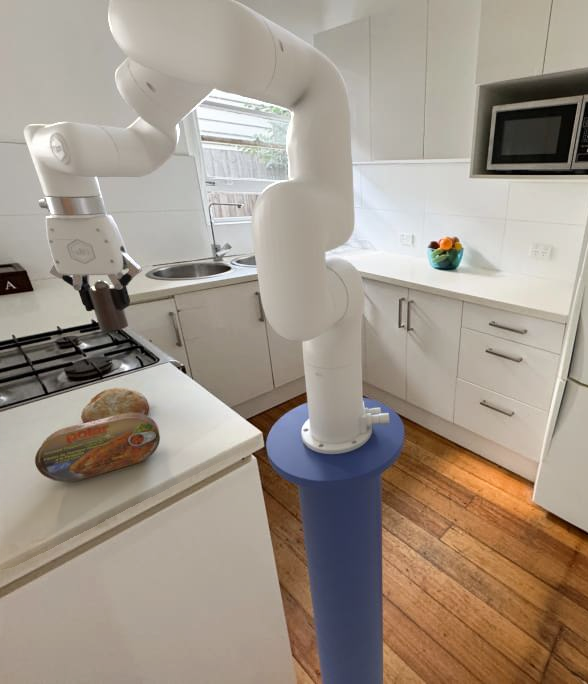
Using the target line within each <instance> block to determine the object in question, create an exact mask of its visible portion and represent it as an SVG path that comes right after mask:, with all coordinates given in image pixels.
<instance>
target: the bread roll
mask: <svg viewBox="0 0 588 684" xmlns="http://www.w3.org/2000/svg"><path fill="white" fill-rule="evenodd" d="M124 413H140V414H143V415H146V416H148V415H149V413H150V404H149V401H148V399H147V398H146V396H145V395H144V394H143V393H141V392H140V391H137V390H133V389H129V388H125V387H113V388H108V389H105V390H102V391H100V392H99V393H97V394H96V395H95V396H93V397H92V398H91V399H90V401H89V402H88V403H87V404H86V405H85V406H84V408H83V409H82V411H81V416H80V418H81V421H82V424H83V423H87V422H91V421H95V420H99V419H103V418H107V417H111V416H115V415H120V414H124Z"/></svg>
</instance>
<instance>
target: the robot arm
mask: <svg viewBox="0 0 588 684" xmlns="http://www.w3.org/2000/svg"><path fill="white" fill-rule="evenodd" d="M107 12H108V13H107V14H108V15H107V16H108V24H109V29H110V32H111V35H112V37H113V39H114V41H115V42H116V44H117V46H118V47H119V49H120V50H121V52H123V54H124V55H125V56H126V57H127V58H125V60H124V61H123V62H122V63H120V64H119V66H118V67H117V68H116V71H115V72H114V73H115V74H114V82H115V85H116V89H117V91H118V93H119V94H120V97H121V98H122V99H123V101H124V103H125V104H126V105H127V106H128V107H129V108H130V109H131V111H133V112H134V113H135V114H136V115H137V116H138V118H137V119H135V120H134V122H132V124H131V125H129V126H128V127H117V126H110V125H101V124H94V123H83V122H75V121H62V122H57V123H53V124H43V123H41V124H40V123H33V124H28V125H26V126H25V127H24V128H23V137H24V140H25V143H26V146H27V148H28V152H29V155H30V157H31V160H32V163H33V166H34V170H35V172H36V175H37V178H38V182H39V184H40V187H41V190H42V193H43V199H39V200H38V201H37V202H38V206H39V208H41V209H46V210H47V211H48V213H49V214H50V215H47V216H45V217H44V218H45V230H46V231H45V232H46V238H47V244H48V247H49V253H50V256H51V259H52V265H51V267H50V269H49V274H51V275H52V276H54V277H57V278H58V279H60V280H61V279H62V280H63V282H65V283H66V284H69V285H70V286H71V287H73V289H74V290H75V291H77V292H78V295H79V297H80V300H81V304H82V305H83V306H84V307H85V311H86V312H92V311H94V308H93V305H92V302H91V299H90V296H89V293H88V290H87V289H88V288H90V287H92V286H93V285H90V276H107V277H108V279H109V280H110V282H111V284H113V285H114V288H115V289H114V290H113V291H112V292H113V296H114V299H115V302H116V306H117V309H118V310H123V309H124V310H125V309H127V308H128V307H129V306H130V303H131V299H130V295H129V291H128V288H127V286H128V285H129V284H130V283H131V281H132V280H133V279H134V278H135V277H136V276H137V275H139V274H140V273H141V272H142V271H143V268H142V267H141V266H140V265H139V264H138V263H137V262H136V261H134V259H132V258H131V257H130V256H129V253H128V251H127V247H126V244H125V241H124V238H123V236H122V234H121V232H120V230H119V227H118V225H117V223H116V222H115V219H114V218H113V216H112V215H111V214H108V212H107V208H106V204H105V203H104V198H103V196H102V192H101V188H100V187H101V186H100V184H99V181H98V178H141V177H145V176H147V175H150V174H152V173H154V172H155V171H157V170H158V169H159V168H160V167H162V166H163V165H164V164H165V163H166V162H167V161H168V160H170V159H171V158H172V157H173V155H174V154H175V153H176V151H177V148H178V144H179V139H180V126H179V124H180V123H181V122H182V121H183V120H184V119H185V118H186V117H187V116H189V115H190V113H192V112H193V111H194V110H195V109H196V108H197V107H199V105H201V104H202V103H203V102H204V101H205V100H206V99H207V98H209V96H210V95H212V94H213V93H214V92H215V91H219V92H223V93H226V94H229V95H232V96H235V97H239V98H243V99H247V100H250V101H254V102H257V103H260V104H264V105H269V106H273V107H276V108H280V109H283V110H286V111H288V112H289V113H290V114H291V119H290V122H289V125H288V129H287V133H286V156H287V162H288V179H286V180H285V179H284V180H280V181H279V180H278V181H276V182H273V183H271V184H269V185H268V186H266V187H265V188H264V189H263V190H262V192H260V194H259V195H258V197H257V199H256V200H255V203H254V205H253V209H252V214H251V224H250V225H251V236H252V237H251V238H252V244H253V245H252V246H253V251H254V252H253V253H254V258H255V266H256V273H257V280H258V288H259V294H260V299H261V305H262V309H263V313H264V315H265V318H266V320H267V322H268V323H269V325H270V326H271V328H272V330H274V331H275V332H276V333H277V334H278V335H279V336H280V337H282V338H283V339H286V340H288V341H291V342H296V343H301V344H302V345H301V347H302V348H301V349H302V357H303V370H304V379H305V390H306V402H307V403H308V411H309V419H308V420H307V421H306V422H305V424H304V425H303V427H302V432H301V434H302V440H303V442H304V444H305V445H306V446H307V447H308V448H310V449H311V450H313V451H316V452H318V453H323V454H341V453H346V452H350V451H353V450H355V449H357V448H359V447H360V446H362V445H363V444H365V443H366V442H367V441H368V439H369V438H370V436H371V434H372V425H375V424H389V413H382V414H381V409H380V408H373V409H368V408H365V406H364V401H363V398H364V397H363V396H364V395H363V394H364V393H363V391H364V390H363V362H362V361H363V359H362V358H363V357H362V354H363V350H362V348H363V347H362V327H363V316H364V308H365V307H364V306H365V284H364V281H363V278H362V276H361V273H360V271H359V270H358V269H357V267H356V266H355V265H353V263H351V262H350V261H348V260H346V259H344V258H342V257H338V256H337V257H336V256H327V255H326V253H328V252H330V251H333V250H335V249H337V248H339V247H341V246H343V245H345V244H346V243H348V241H349V240H350V238H351V237H352V235H353V233H354V230H355V218H356V216H355V196H354V193H355V192H354V168H353V156H352V154H353V153H352V112H351V101H350V96H349V95H350V94H349V90H348V87H347V84H346V80H344V77H343V75H342V74H341V72H340V70H339V68H338V67H337V66H336V65H335V63H334V62H333V61H332V60H331V59H330V58H329V57H328V56H327V55H325V54H324V53H323V52H322V51H320V49H319V50H318V49H317V48H316V47H315V46H313V45H312V44H310V43H309V42H307V41H305V40H303V39H302V38H300V37H299V36H297V35H295V34H294V33H292V32H290V31H289V30H288V29H286V28H284V27H282V26H281V25H279V24H277V23H276V22H274V21H272V20H271V19H268V18H267V17H266V16H264V15H262V14H261V13H259V12H257V11H256V10H254V9H252V8H251V7H248V6H247V5H245V4H243V3H241V2H239V1H237V0H109V3H108V8H107ZM127 269H128V271H127V272H126V273H124V272H123V270H124V271H125V270H127Z"/></svg>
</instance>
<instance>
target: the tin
mask: <svg viewBox="0 0 588 684" xmlns="http://www.w3.org/2000/svg"><path fill="white" fill-rule="evenodd" d="M160 440H161V435H160V429H159V426H158V424H157V423H156V421H155V420H154V419H153V418H152V417H150V416H148V415H147V416H146V415H143V414H140V413H124V414H120V415H115V416H111V417H107V418H103V419H99V420H95V421H91V422H87V423H83V422H82V423H79V424H75V425H70V426H67V427H63V428H61V429H58V430H56V431H54V432H53V433H51V434H50V435H48V436H47V438H46V439H45V440H43V442H42V444H41V446H40V447H39V448H38V450H37V452H36V454H35V456H34V464H35V467H36V469H37V470H38V472H39V473H40V474H41V475H42V476H44V477H45V478H46V479H49V480H51V481H54V482H55V481H56V482H61V483H72V482H79V481H82V480H85V479H86V480H87V479H89V478H93V477H95V476H99V475H102V474H106V473H108V472H113V471H116V470H119V469H123V468H126V467H130V466H132V465H136V464H140V463H141V462H144V461H145V460H147V459H148V458H150V457H151V456H152V455H153V454H154V453H155V452H156V450H157V449H158V447H159V445H160V442H161V441H160Z"/></svg>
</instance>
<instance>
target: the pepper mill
mask: <svg viewBox="0 0 588 684" xmlns="http://www.w3.org/2000/svg"><path fill="white" fill-rule="evenodd" d="M91 286H92V287H90V288H88V289H87V290H88V293H89V296H90V299H91V302H92V305H93V308H94V310H93V311H94V314H95V318H96V321H97V324H98V327H99V330H100V331H102V332H115V331H120V330H123V329H125V328H127V327H128V326H129V323H128V320H127V316H126V312H125V309H123V310H118V309H117V306H116V302H115V299H114V296H113V292H112V291H113V290H114V289H115V288H114V285H113V284H112V283H111V284H109V282H107V281H105V280H102V279H101V280H97V281H96V282H94V284H93V285H91Z"/></svg>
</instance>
